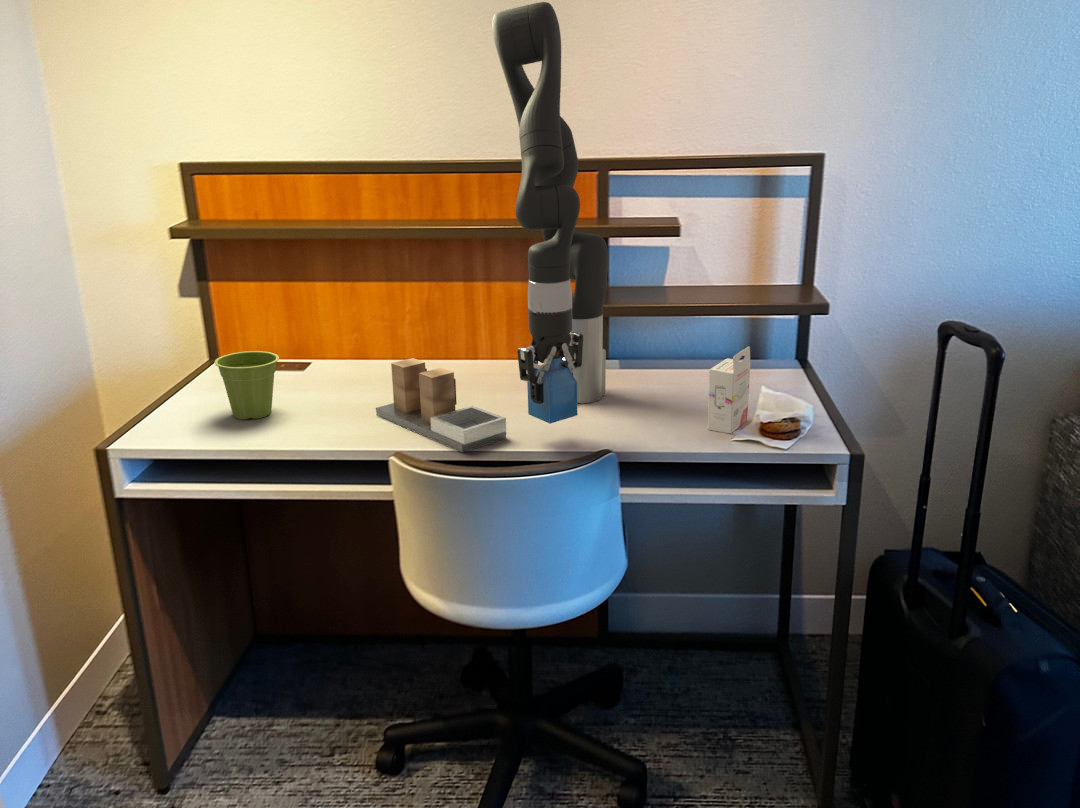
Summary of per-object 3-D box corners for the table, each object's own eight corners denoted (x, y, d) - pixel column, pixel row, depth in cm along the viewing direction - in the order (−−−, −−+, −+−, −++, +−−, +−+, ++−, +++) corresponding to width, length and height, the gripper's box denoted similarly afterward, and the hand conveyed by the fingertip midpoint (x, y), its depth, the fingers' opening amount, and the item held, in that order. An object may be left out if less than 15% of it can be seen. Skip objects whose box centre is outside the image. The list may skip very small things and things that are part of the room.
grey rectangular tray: (418, 403, 191) (417, 384, 189) (507, 438, 171) (506, 417, 170) (376, 415, 184) (375, 395, 183) (463, 453, 165) (462, 431, 164)
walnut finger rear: (417, 401, 187) (415, 357, 184) (429, 406, 184) (427, 361, 181) (394, 407, 184) (391, 363, 181) (406, 412, 181) (403, 367, 178)
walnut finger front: (445, 412, 181) (443, 367, 178) (458, 417, 178) (456, 371, 175) (421, 419, 177) (418, 373, 174) (434, 424, 174) (431, 377, 172)
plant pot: (268, 426, 179) (261, 369, 175) (210, 422, 181) (202, 366, 178) (294, 405, 190) (289, 351, 186) (239, 403, 192) (233, 349, 189)
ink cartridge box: (723, 416, 181) (727, 341, 177) (747, 420, 179) (752, 345, 174) (705, 429, 175) (709, 352, 170) (731, 434, 172) (735, 356, 167)
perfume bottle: (577, 415, 168) (576, 350, 163) (549, 423, 164) (548, 357, 160) (555, 406, 172) (554, 342, 168) (528, 414, 169) (526, 349, 165)
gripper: (563, 294, 169) (565, 383, 174) (503, 309, 159) (507, 403, 165) (595, 300, 163) (595, 392, 169) (535, 317, 154) (537, 413, 160)
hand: (552, 397), depth 167 cm, fingers closed on perfume bottle, 6 cm apart
